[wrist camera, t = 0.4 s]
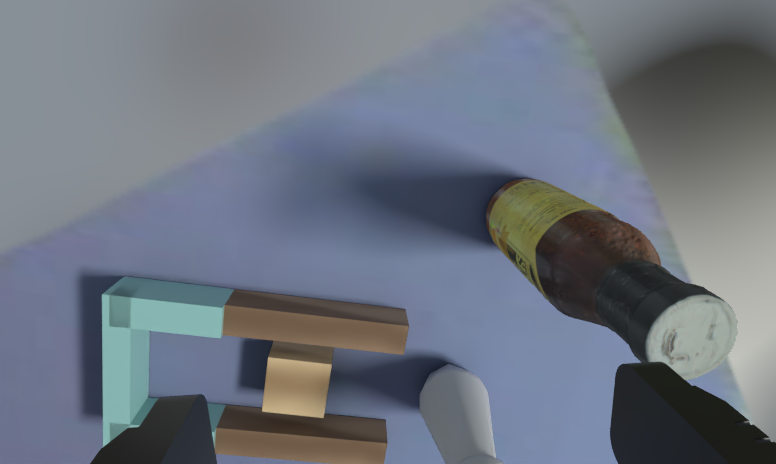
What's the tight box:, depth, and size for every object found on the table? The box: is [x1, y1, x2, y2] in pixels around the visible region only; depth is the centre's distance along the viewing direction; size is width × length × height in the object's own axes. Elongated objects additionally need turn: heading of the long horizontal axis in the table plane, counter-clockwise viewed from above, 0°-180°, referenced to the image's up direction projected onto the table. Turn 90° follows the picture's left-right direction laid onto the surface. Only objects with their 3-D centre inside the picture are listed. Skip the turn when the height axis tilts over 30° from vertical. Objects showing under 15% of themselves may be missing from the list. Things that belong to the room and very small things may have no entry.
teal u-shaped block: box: [102, 276, 234, 448], centre depth 39 cm, size 13×8×4 cm, turn 171°
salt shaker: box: [420, 364, 504, 464], centre depth 36 cm, size 6×6×13 cm
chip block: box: [262, 341, 334, 418], centre depth 40 cm, size 5×5×3 cm
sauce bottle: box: [486, 179, 737, 380], centre depth 29 cm, size 6×6×20 cm
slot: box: [215, 289, 409, 464], centre depth 40 cm, size 13×14×3 cm
